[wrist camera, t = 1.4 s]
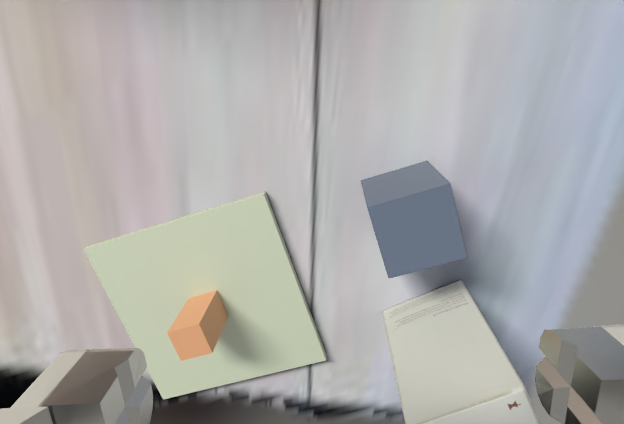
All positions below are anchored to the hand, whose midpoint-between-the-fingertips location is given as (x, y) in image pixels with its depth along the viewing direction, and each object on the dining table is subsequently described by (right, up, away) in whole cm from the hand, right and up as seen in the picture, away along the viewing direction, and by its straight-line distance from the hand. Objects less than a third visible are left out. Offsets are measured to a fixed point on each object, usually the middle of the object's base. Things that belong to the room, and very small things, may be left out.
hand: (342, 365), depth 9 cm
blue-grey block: (+6, +4, +24) cm, 25 cm away
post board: (-9, -5, +28) cm, 30 cm away
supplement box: (+10, -7, +28) cm, 31 cm away
